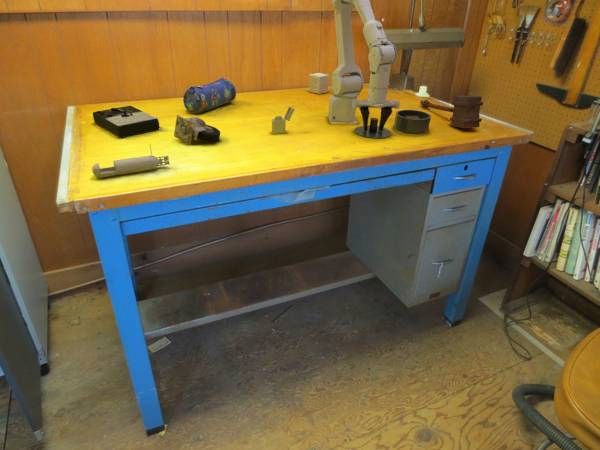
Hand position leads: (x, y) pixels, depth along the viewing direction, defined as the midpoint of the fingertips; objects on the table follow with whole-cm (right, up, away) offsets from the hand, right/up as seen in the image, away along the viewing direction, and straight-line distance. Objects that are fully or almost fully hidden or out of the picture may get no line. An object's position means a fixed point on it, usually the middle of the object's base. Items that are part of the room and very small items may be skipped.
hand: (372, 130), depth 135 cm
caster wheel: (-53, -5, -9) cm, 54 cm away
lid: (0, -1, 0) cm, 1 cm away
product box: (-16, +27, +47) cm, 56 cm away
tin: (+14, +1, +6) cm, 15 cm away
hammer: (+29, +9, +20) cm, 36 cm away
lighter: (-29, -1, 0) cm, 29 cm away
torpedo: (-65, -18, -30) cm, 74 cm away
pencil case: (-57, +13, +21) cm, 62 cm away
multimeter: (-79, +1, -1) cm, 79 cm away
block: (+14, +2, +5) cm, 15 cm away
